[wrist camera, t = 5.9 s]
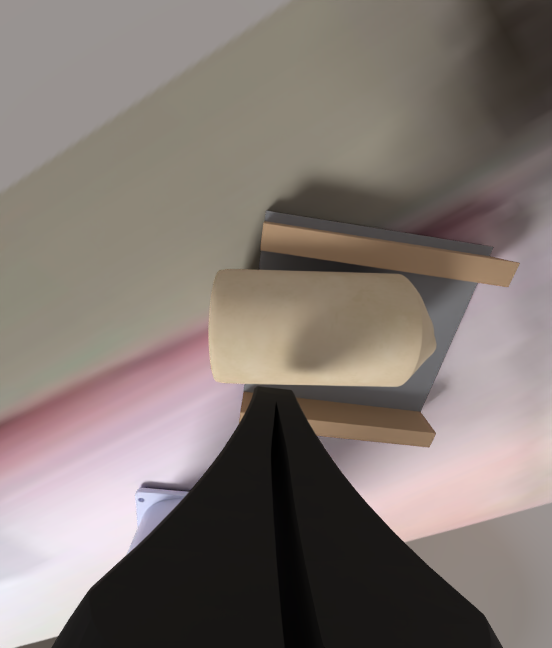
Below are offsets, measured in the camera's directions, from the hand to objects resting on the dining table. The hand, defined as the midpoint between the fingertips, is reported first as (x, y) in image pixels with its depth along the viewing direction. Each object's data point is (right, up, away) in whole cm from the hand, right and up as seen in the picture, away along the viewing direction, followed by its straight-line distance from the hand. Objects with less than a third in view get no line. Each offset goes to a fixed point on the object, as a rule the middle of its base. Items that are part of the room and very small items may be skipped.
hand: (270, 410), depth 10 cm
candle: (-3, +3, +4) cm, 5 cm away
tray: (+5, +2, +8) cm, 9 cm away
